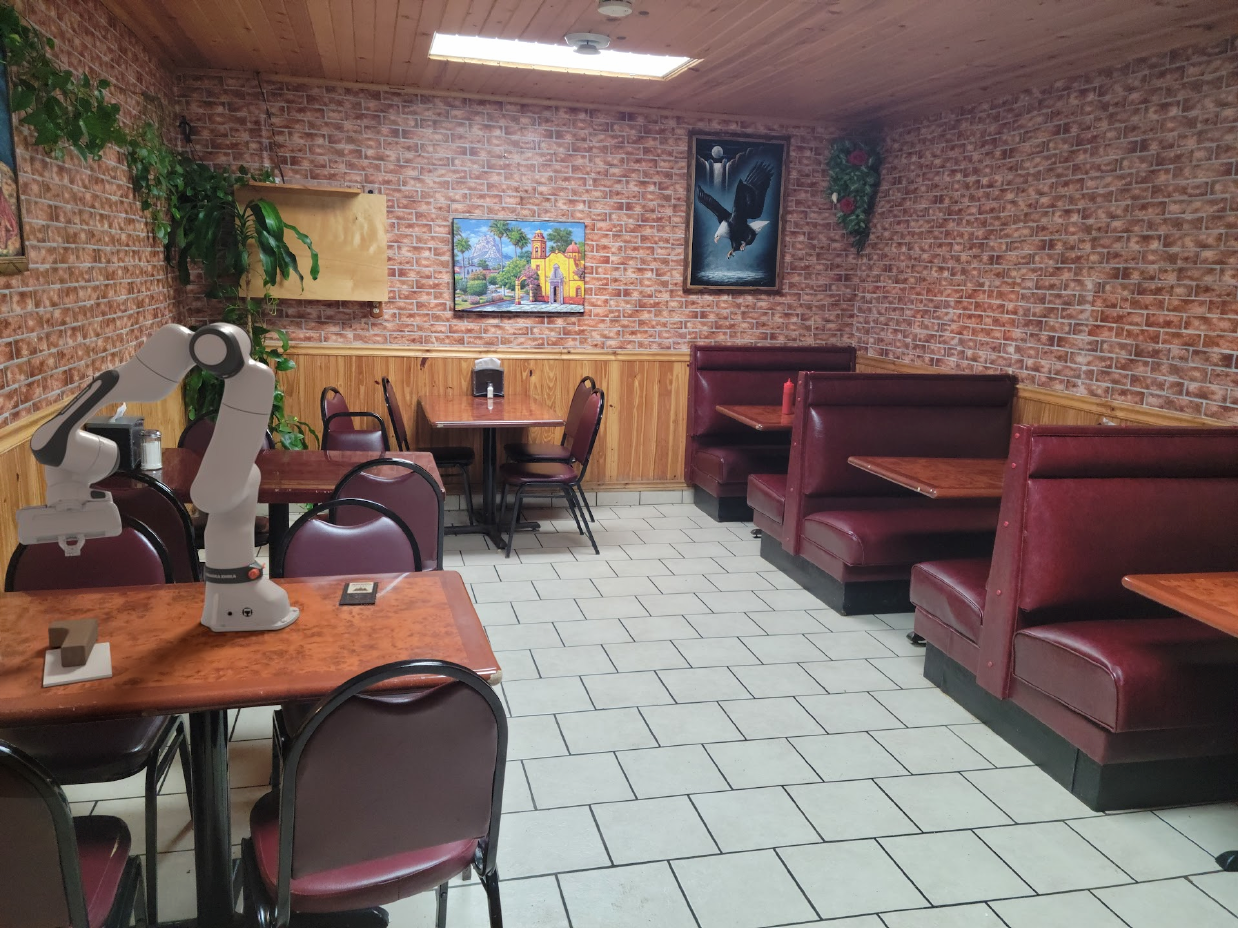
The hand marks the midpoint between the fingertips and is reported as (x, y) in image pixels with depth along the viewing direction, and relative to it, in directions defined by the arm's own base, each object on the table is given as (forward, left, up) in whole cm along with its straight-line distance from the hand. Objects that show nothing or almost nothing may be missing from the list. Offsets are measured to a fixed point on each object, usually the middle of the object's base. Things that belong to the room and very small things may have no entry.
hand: (72, 554), depth 204 cm
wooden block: (0, +1, -17) cm, 17 cm away
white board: (-8, +14, -20) cm, 26 cm away
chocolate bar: (-53, -38, -21) cm, 69 cm away
